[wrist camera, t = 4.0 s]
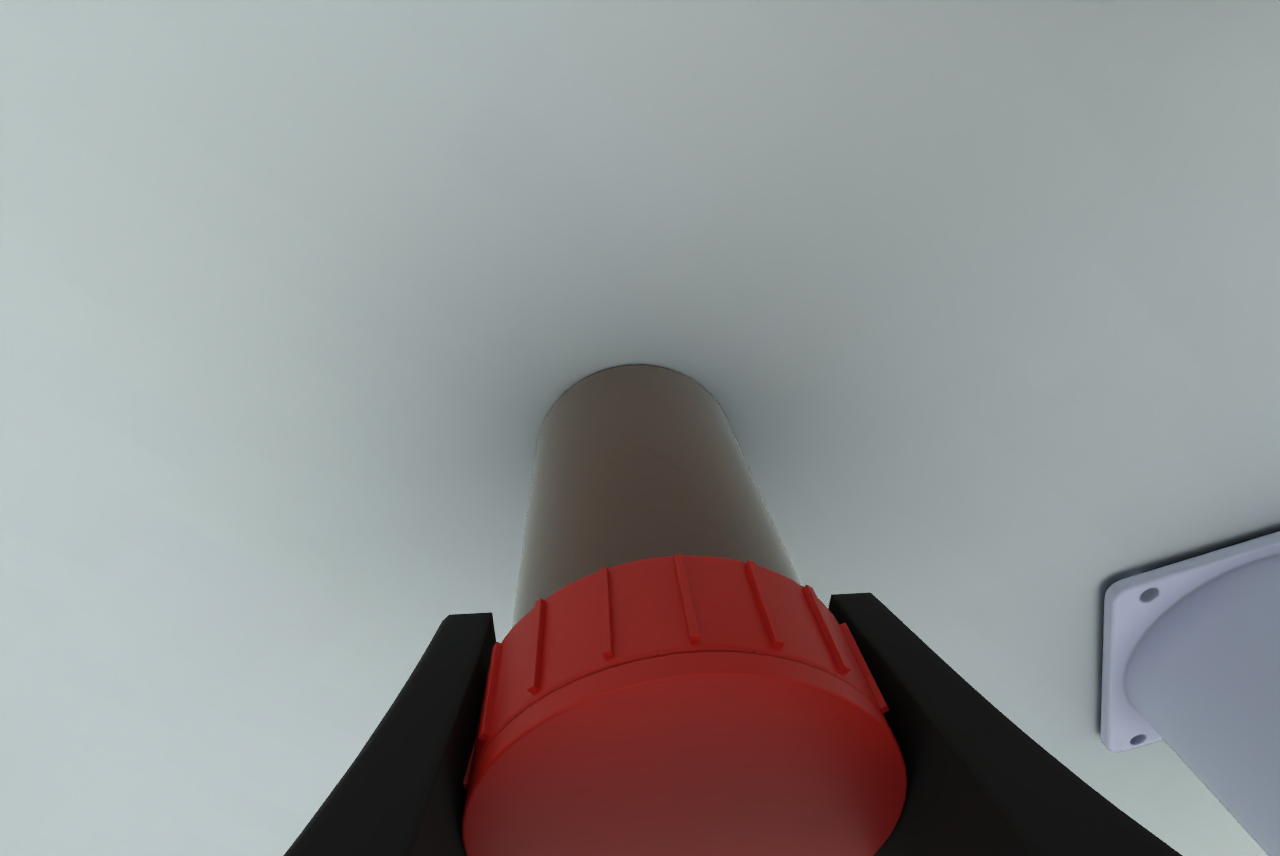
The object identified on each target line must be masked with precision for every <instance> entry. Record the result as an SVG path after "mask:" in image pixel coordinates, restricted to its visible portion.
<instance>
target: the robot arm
mask: <svg viewBox="0 0 1280 856" xmlns="http://www.w3.org/2000/svg"><path fill="white" fill-rule="evenodd" d="M828 610H829V611H830V612H831V613H832V614H833V615H834V617H835V619H836V620H837V622H838V623H839V625H840V624H842V623H846V625H847V626H848V628H849V630H850V632H851V634H852V636H853V638H854V640H855V642H856V644H857V646H858V648H859V650H860V652H861V654H862V656H863V658H864V660H865V662H866V664H867V666H868V668H869V670H870V672H871V674H872V676H873V678H874V680H875V682H876V684H877V686H878V688H879V690H880V692H881V694H882V696H883V698H884V700H885V702H886V704H887V706H888V708H889V711H887V712H885V713H883V714H884V716H885V718H886V721H887V723H888V725H889V727H890V728H891V730H892V733H893V735H894V737H895V739H896V741H897V743H898V745H899V747H900V750H901V753H902V755H903V758H904V761H905V765H906V773H907V792H906V800H905V803H904V806H903V810H902V813H901V816H900V818H899V820H898V822H897V824H896V826H895V827H894V829H893V831H892V833H891V834H890V836H889V837H888V838H887V840H886V841H885V843H884V844H883V845H882V847H881V848H880V849H879V850H878V851H877V852H876V853H875V854H874V855H873V856H1182V855H1181V854H1179V853H1178V852H1177V851H1175V850H1174V849H1172V848H1171V847H1170V846H1168V845H1167V844H1166V843H1164V842H1163V841H1162V840H1160V839H1159V838H1158V837H1156V836H1155V835H1154V834H1152V833H1151V832H1149V831H1148V830H1147V829H1145V828H1144V827H1143V826H1141V825H1140V824H1139V823H1137V822H1136V821H1135V820H1133V819H1132V818H1130V817H1129V816H1128V815H1126V814H1125V813H1124V812H1122V811H1121V810H1120V809H1118V808H1117V807H1116V806H1114V805H1113V804H1112V803H1111V802H1109V801H1108V800H1107V799H1105V798H1104V797H1103V796H1102V795H1100V794H1099V793H1098V792H1096V791H1095V790H1094V789H1093V788H1091V787H1090V786H1089V785H1087V784H1086V783H1085V782H1084V781H1083V780H1081V779H1080V778H1079V777H1078V776H1076V775H1075V774H1074V773H1073V772H1071V771H1070V770H1069V769H1068V768H1067V767H1065V766H1064V765H1063V764H1062V763H1060V762H1059V761H1058V760H1057V759H1056V758H1054V757H1053V756H1052V755H1051V754H1049V753H1048V752H1047V751H1046V750H1045V749H1043V748H1042V747H1041V746H1040V745H1038V744H1037V743H1036V742H1035V741H1034V740H1032V739H1031V738H1030V737H1029V736H1028V735H1027V734H1025V733H1024V732H1023V731H1022V730H1021V729H1020V728H1018V727H1017V726H1016V725H1015V724H1014V723H1013V722H1011V721H1010V720H1009V719H1008V718H1007V717H1006V716H1004V715H1003V714H1002V713H1001V712H1000V711H999V710H998V709H996V708H995V707H994V706H993V705H992V704H991V703H990V702H988V701H987V700H986V699H985V698H984V697H983V696H982V695H981V694H980V693H978V692H977V691H976V690H975V689H974V688H973V687H972V686H971V685H969V684H968V683H967V682H966V681H965V680H964V679H963V678H962V677H961V676H960V675H958V674H957V673H956V672H955V671H954V670H953V669H952V668H951V667H950V666H949V665H948V664H946V663H945V662H944V661H943V660H942V659H941V658H940V657H939V656H938V655H937V654H936V653H935V652H934V651H932V650H931V649H930V648H929V647H928V646H927V645H926V644H925V643H924V642H923V641H922V640H921V639H920V638H919V637H918V636H916V635H915V634H914V633H913V632H912V631H911V630H910V629H909V628H908V627H907V626H906V625H905V624H904V623H903V622H902V621H901V620H899V619H898V618H897V617H896V616H895V615H894V614H893V613H892V612H891V611H890V610H889V609H888V608H887V607H886V606H885V605H883V604H882V603H881V602H880V601H879V600H878V599H877V598H876V597H875V596H874V595H873V594H871V593H856V594H837V595H831V599H830V604H829V609H828ZM495 643H496V638H495V631H494V624H493V616H492V613H475V614H456V615H449V616H448V617H446V618H445V619H444V620H443V621H442V623H441V625H440V626H439V628H438V630H437V632H436V634H435V635H434V637H433V639H432V641H431V642H430V644H429V646H428V648H427V649H426V651H425V653H424V654H423V656H422V658H421V659H420V661H419V663H418V664H417V666H416V668H415V669H414V671H413V673H412V674H411V676H410V677H409V679H408V681H407V682H406V684H405V685H404V687H403V689H402V690H401V692H400V693H399V695H398V696H397V698H396V700H395V701H394V703H393V704H392V706H391V707H390V709H389V710H388V712H387V713H386V715H385V716H384V718H383V719H382V721H381V722H380V724H379V725H378V727H377V728H376V730H375V731H374V733H373V734H372V736H371V737H370V739H369V740H368V742H367V743H366V745H365V746H364V748H363V749H362V750H361V752H360V753H359V755H358V756H357V758H356V759H355V761H354V762H353V763H352V765H351V766H350V768H349V769H348V770H347V772H346V773H345V775H344V776H343V777H342V779H341V780H340V781H339V783H338V784H337V785H336V787H335V788H334V789H333V791H332V792H331V794H330V795H329V796H328V798H327V799H326V800H325V802H324V803H323V804H322V806H321V807H320V808H319V810H318V811H317V812H316V814H315V815H314V817H313V818H312V819H311V821H310V822H309V823H308V825H307V826H306V827H305V829H304V830H303V831H302V833H301V834H300V835H299V837H298V838H297V839H296V840H295V842H294V843H293V844H292V846H291V847H290V848H289V849H288V851H287V852H286V853H285V854H284V856H467V855H466V851H465V847H464V843H463V839H462V817H463V811H464V805H465V799H466V794H467V789H464V786H463V782H464V779H465V775H466V771H467V767H468V764H469V760H470V756H471V753H472V749H473V745H474V741H475V738H476V733H477V727H478V722H479V716H480V710H481V704H482V699H483V693H484V687H485V681H486V675H487V672H488V669H489V667H490V662H491V656H492V650H493V646H494V645H495ZM1100 739H1101V742H1102V743H1103V744H1104V745H1105V747H1106V748H1107V749H1108V750H1109V751H1111V752H1123V751H1126V750H1130V749H1133V748H1137V747H1141V746H1144V745H1148V744H1151V743H1155V742H1158V741H1162V740H1164V741H1165V742H1166V743H1167V744H1168V745H1169V746H1170V748H1171V749H1172V750H1173V751H1174V752H1175V753H1176V754H1177V755H1178V756H1179V758H1180V759H1181V760H1182V761H1183V762H1184V763H1185V764H1186V765H1187V766H1188V768H1189V769H1190V770H1191V771H1192V772H1193V773H1194V774H1195V775H1196V776H1197V777H1198V779H1199V780H1200V781H1201V782H1202V783H1203V784H1204V785H1205V786H1206V787H1207V789H1208V790H1209V791H1210V792H1211V793H1212V794H1213V795H1214V796H1215V797H1216V798H1217V800H1218V801H1219V802H1220V803H1221V804H1222V805H1223V806H1224V807H1225V808H1226V810H1227V811H1228V812H1229V813H1230V814H1231V815H1232V816H1233V817H1234V818H1235V819H1236V821H1237V822H1238V823H1239V824H1240V825H1241V826H1242V827H1243V828H1244V829H1245V831H1246V832H1247V833H1248V834H1249V835H1250V836H1251V837H1252V838H1253V839H1254V840H1255V842H1256V843H1257V844H1258V845H1259V846H1260V847H1261V848H1262V849H1263V850H1264V852H1265V853H1266V854H1267V855H1268V856H1280V531H1278V532H1275V533H1272V534H1268V535H1265V536H1262V537H1259V538H1255V539H1252V540H1249V541H1245V542H1242V543H1239V544H1236V545H1232V546H1229V547H1226V548H1223V549H1219V550H1216V551H1213V552H1210V553H1206V554H1203V555H1200V556H1196V557H1193V558H1190V559H1187V560H1183V561H1180V562H1177V563H1174V564H1170V565H1167V566H1164V567H1161V568H1157V569H1154V570H1151V571H1148V572H1144V573H1141V574H1138V575H1134V576H1131V577H1128V578H1125V579H1121V580H1119V581H1117V582H1115V583H1113V584H1112V585H1111V586H1110V587H1109V588H1108V589H1107V591H1106V594H1105V599H1104V633H1103V668H1102V702H1101V737H1100Z"/></svg>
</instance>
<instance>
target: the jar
mask: <svg viewBox="0 0 1280 856" xmlns="http://www.w3.org/2000/svg"><path fill="white" fill-rule="evenodd" d="M674 554H683V555H695V556H715V557H725V558H730V559H735V560H740V561H744V562H747V560H750V561H754V562H755V563H756V565H758V566H762V567H764V568H767V569H769V570H772V571H774V572H777V573H779V574H782V575H784V576H785V577H787V578H790V579H792V580H793V581H795V582H796V583H798V584H799V585H801V584H800V581H799V579H798V577H797V575H796V572H795V570H794V568H793V566H792V563H791V561H790V559H789V557H788V555H787V552H786V550H785V548H784V546H783V543H782V541H781V539H780V537H779V534H778V532H777V530H776V528H775V525H774V523H773V521H772V519H771V516H770V514H769V512H768V510H767V507H766V505H765V503H764V501H763V499H762V496H761V494H760V492H759V490H758V487H757V485H756V483H755V481H754V478H753V476H752V474H751V472H750V469H749V467H748V465H747V463H746V460H745V458H744V456H743V454H742V451H741V449H740V447H739V445H738V442H737V440H736V438H735V436H734V434H733V431H732V429H731V427H730V425H729V422H728V420H727V418H726V416H725V413H724V412H723V410H722V408H721V407H720V405H719V403H718V402H717V401H716V400H715V399H714V397H713V396H712V395H711V394H710V393H709V392H708V391H707V390H706V389H705V388H704V387H702V386H701V385H700V384H698V383H697V382H695V381H694V380H692V379H691V378H689V377H687V376H685V375H683V374H681V373H678V372H675V371H672V370H669V369H665V368H661V367H656V366H646V365H631V366H622V367H616V368H611V369H608V370H604V371H601V372H598V373H596V374H594V375H591V376H589V377H587V378H585V379H583V380H582V381H580V382H578V383H577V384H575V385H574V386H572V387H571V388H570V389H569V390H567V391H566V392H565V393H564V394H563V395H562V396H561V397H560V398H559V399H558V400H557V401H556V402H555V404H554V405H553V406H552V408H551V409H550V410H549V412H548V414H547V415H546V417H545V419H544V421H543V423H542V426H541V429H540V431H539V435H538V440H537V445H536V452H535V459H534V467H533V474H532V482H531V489H530V497H529V504H528V512H527V519H526V527H525V534H524V542H523V549H522V556H521V564H520V571H519V579H518V586H517V594H516V601H515V609H514V616H513V624H512V628H513V627H514V625H516V624H517V623H518V622H519V620H520V619H521V618H522V617H524V616H525V615H526V614H527V613H528V612H529V611H530V610H531V609H533V608H534V607H535V602H536V601H538V600H539V599H540V598H541V599H543V600H544V599H546V598H547V597H549V596H550V595H552V594H553V593H554V592H556V591H557V590H559V589H561V588H563V587H564V586H566V585H567V584H570V583H571V582H574V581H576V580H578V579H580V578H583V577H585V576H588V575H590V574H593V573H595V572H598V571H599V569H601V568H604V567H607V568H609V567H613V566H617V565H620V564H624V563H628V562H631V561H637V560H640V559H646V558H655V557H664V556H674Z"/></svg>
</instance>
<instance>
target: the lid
mask: <svg viewBox="0 0 1280 856" xmlns="http://www.w3.org/2000/svg"><path fill="white" fill-rule="evenodd" d="M887 711H889V708H888V706H887V704H886V702H885V700H884V698H883V696H882V694H881V692H880V690H879V688H878V686H877V684H876V682H875V680H874V678H873V676H872V674H871V672H870V670H869V668H868V666H867V664H866V662H865V660H864V658H863V656H862V654H861V652H860V650H859V648H858V646H857V644H856V642H855V640H854V638H853V636H852V634H851V632H850V630H849V628H848V626H847V625H846V623H842V624H840V625H839V623H838V622H837V620H836V619H835V617H834V615H833V614H832V613H831V612H830V611H829V610H828V608H827V607H826V606H825V605H824V604H823V603H822V602H821V601H820V600H819V599H818V598H817V596H816V594H815V592H814V590H813V588H812V587H810V586H809V585H806V586H805V587H803V586H801V585H799V584H798V583H796V582H795V581H793V580H792V579H790V578H787V577H785V576H784V575H782V574H779V573H777V572H774V571H772V570H769V569H767V568H764V567H762V566H758V565H756V563H755V562H754V561H750V560H747V562H744V561H740V560H735V559H730V558H725V557H715V556H695V555H683V554H674V556H664V557H655V558H646V559H640V560H637V561H631V562H628V563H624V564H620V565H617V566H613V567H609V568H607V567H604V568H601V569H599V571H598V572H595V573H593V574H590V575H588V576H585V577H583V578H580V579H578V580H576V581H574V582H571V583H570V584H567V585H566V586H564V587H563V588H561V589H559V590H557V591H556V592H554V593H553V594H552V595H550V596H549V597H547V598H546V599H544V600H543V599H541V598H540V599H539V600H538V601H536V602H535V607H534V608H533V609H531V610H530V611H529V612H528V613H527V614H526V615H525V616H524V617H522V618H521V619H520V620H519V622H518V623H517V624H516V625H514V627H513V628H512V629H511V631H510V632H509V633H508V634H507V636H506V637H505V638H504V640H503V642H502V643H498V642H496V643H495V645H494V646H493V650H492V656H491V662H490V667H489V669H488V672H487V675H486V681H485V687H484V693H483V699H482V704H481V710H480V716H479V722H478V727H477V733H476V738H475V741H474V745H473V749H472V753H471V756H470V760H469V764H468V767H467V771H466V775H465V779H464V782H463V786H464V789H467V794H466V799H465V805H464V811H463V817H462V839H463V843H464V847H465V851H466V855H467V856H873V855H874V854H875V853H876V852H877V851H878V850H879V849H880V848H881V847H882V845H883V844H884V843H885V841H886V840H887V838H888V837H889V836H890V834H891V833H892V831H893V829H894V827H895V826H896V824H897V822H898V820H899V818H900V816H901V813H902V810H903V806H904V803H905V800H906V792H907V773H906V765H905V761H904V758H903V755H902V753H901V750H900V747H899V745H898V743H897V741H896V739H895V737H894V735H893V733H892V730H891V728H890V727H889V725H888V723H887V721H886V718H885V716H884V714H883V713H885V712H887Z"/></svg>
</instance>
